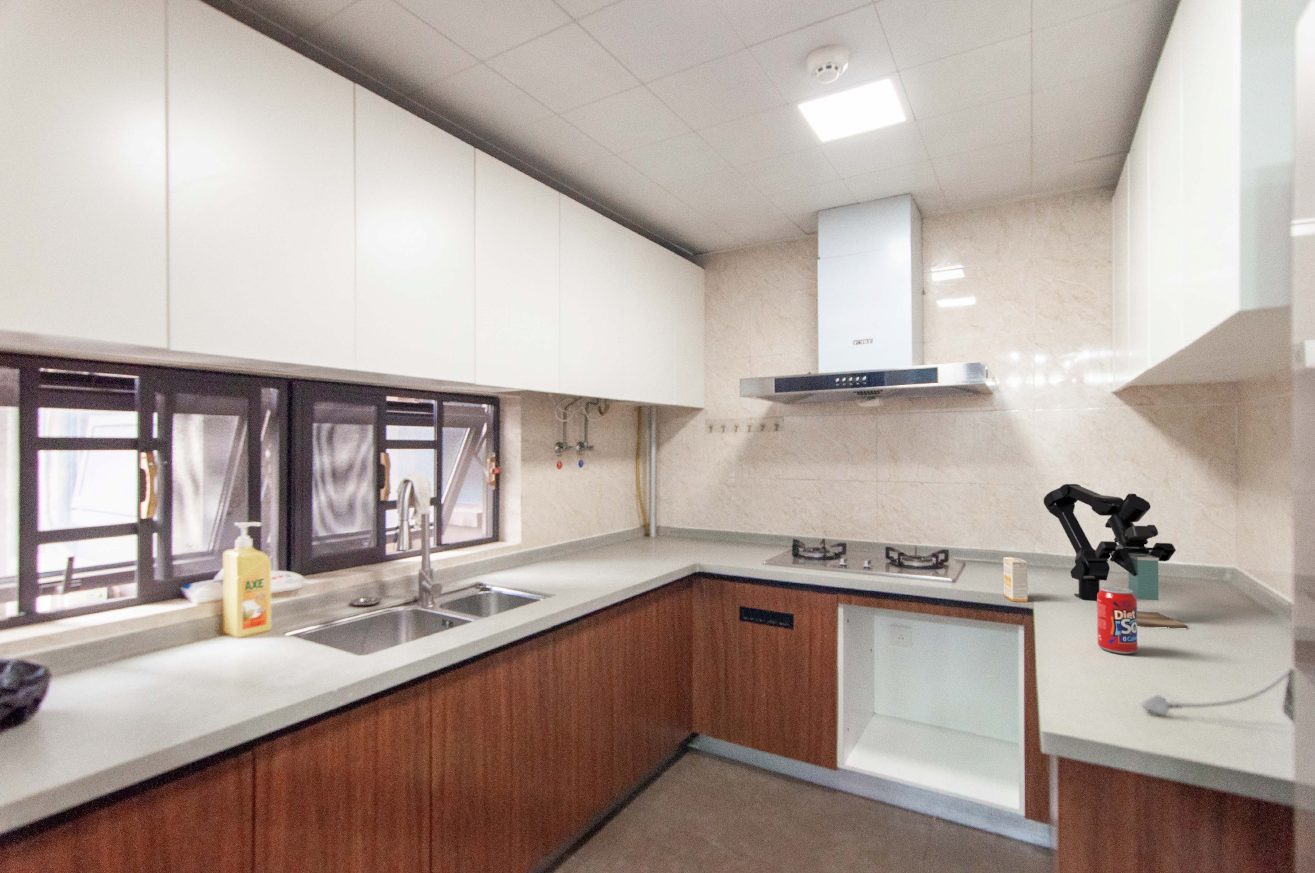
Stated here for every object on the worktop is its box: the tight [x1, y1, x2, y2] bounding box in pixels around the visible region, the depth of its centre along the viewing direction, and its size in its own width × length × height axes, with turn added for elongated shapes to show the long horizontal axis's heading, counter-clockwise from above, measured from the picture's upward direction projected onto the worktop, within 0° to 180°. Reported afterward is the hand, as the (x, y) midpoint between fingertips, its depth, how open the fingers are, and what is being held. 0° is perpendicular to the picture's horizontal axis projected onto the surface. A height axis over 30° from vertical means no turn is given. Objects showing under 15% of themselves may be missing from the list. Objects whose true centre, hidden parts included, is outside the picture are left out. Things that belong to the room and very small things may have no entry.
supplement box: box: [1003, 556, 1029, 603], centre depth 203 cm, size 8×5×13 cm, turn 168°
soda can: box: [1096, 586, 1138, 655], centre depth 152 cm, size 8×8×15 cm
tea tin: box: [1128, 554, 1160, 601], centre depth 178 cm, size 5×5×12 cm
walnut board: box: [1137, 610, 1188, 629], centre depth 178 cm, size 14×14×2 cm
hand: (1145, 575), depth 176 cm, fingers closed on tea tin, 5 cm apart
